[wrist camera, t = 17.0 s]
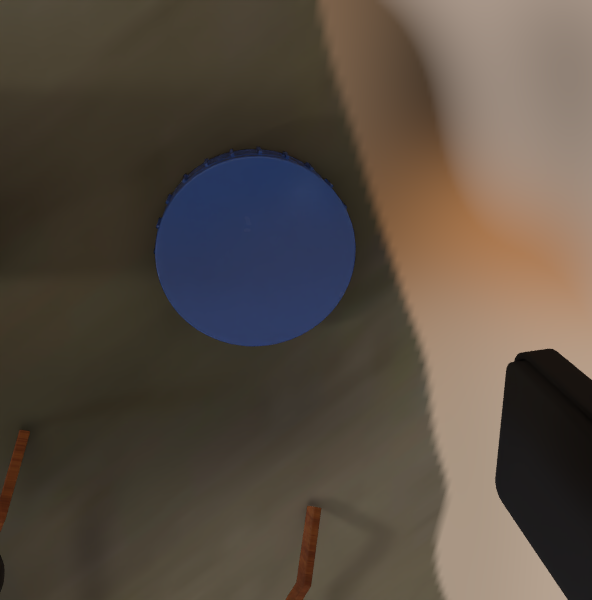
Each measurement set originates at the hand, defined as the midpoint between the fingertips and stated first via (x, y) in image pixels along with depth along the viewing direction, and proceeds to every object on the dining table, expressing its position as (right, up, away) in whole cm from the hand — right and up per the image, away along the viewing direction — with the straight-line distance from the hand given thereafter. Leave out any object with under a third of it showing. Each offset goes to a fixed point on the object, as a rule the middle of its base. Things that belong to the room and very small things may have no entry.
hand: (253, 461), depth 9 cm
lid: (-1, +4, +9) cm, 10 cm away
